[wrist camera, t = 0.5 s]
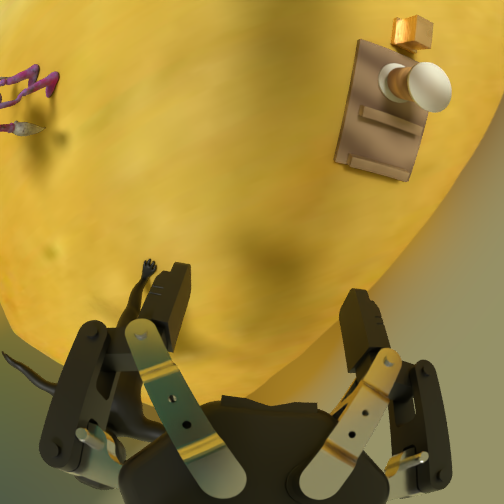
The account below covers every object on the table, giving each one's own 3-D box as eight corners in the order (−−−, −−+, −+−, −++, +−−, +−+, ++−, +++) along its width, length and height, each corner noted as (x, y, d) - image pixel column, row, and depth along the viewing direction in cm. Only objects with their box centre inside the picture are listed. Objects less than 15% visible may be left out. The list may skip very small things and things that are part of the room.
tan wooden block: (393, 18, 21) (413, 11, 16) (415, 28, 21) (437, 24, 16) (390, 43, 24) (410, 39, 19) (412, 53, 24) (434, 51, 19)
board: (357, 40, 24) (388, 28, 16) (432, 71, 24) (475, 75, 16) (333, 159, 35) (353, 187, 26) (405, 178, 35) (437, 210, 27)
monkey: (269, 295, 51) (256, 524, 18) (232, 348, 62) (210, 512, 30) (78, 222, 44) (-44, 397, 11) (81, 290, 55) (8, 432, 23)
